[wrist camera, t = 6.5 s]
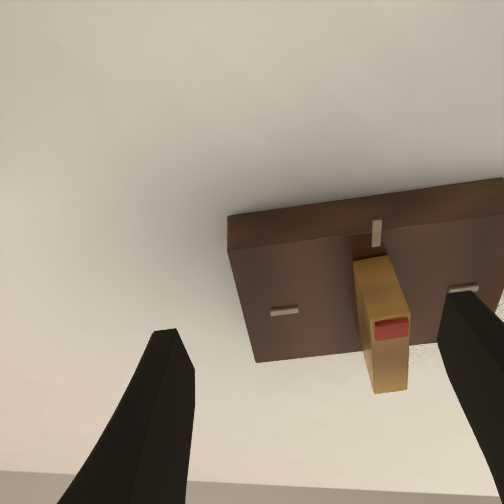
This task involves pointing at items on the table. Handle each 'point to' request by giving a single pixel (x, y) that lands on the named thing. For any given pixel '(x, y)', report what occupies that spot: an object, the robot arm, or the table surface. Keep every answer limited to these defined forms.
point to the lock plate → (357, 248)
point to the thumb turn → (382, 323)
